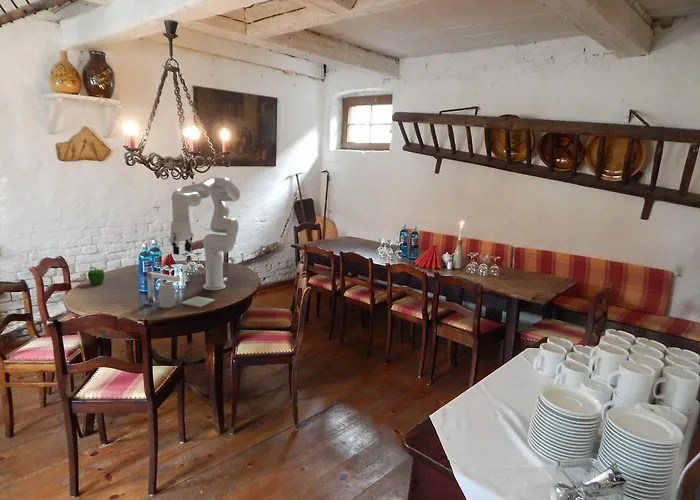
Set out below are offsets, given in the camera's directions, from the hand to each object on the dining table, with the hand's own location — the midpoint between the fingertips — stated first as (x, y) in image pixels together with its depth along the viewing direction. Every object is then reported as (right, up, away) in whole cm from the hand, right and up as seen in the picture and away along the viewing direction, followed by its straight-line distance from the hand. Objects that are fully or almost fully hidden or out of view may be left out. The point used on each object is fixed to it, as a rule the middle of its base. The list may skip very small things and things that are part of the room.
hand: (182, 252), depth 227 cm
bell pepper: (-61, -19, +33) cm, 72 cm away
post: (-18, -26, +6) cm, 32 cm away
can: (-8, -28, +3) cm, 29 cm away
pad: (+4, -26, +11) cm, 29 cm away
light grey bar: (-10, -13, 0) cm, 16 cm away
